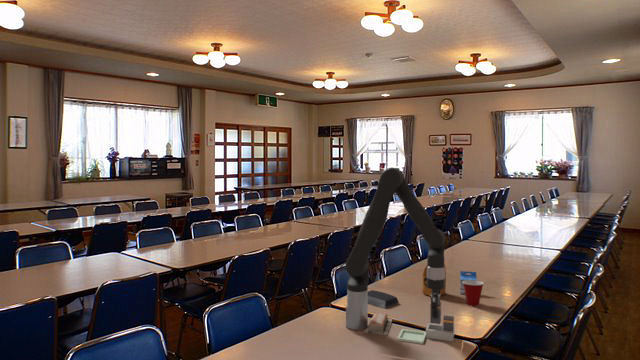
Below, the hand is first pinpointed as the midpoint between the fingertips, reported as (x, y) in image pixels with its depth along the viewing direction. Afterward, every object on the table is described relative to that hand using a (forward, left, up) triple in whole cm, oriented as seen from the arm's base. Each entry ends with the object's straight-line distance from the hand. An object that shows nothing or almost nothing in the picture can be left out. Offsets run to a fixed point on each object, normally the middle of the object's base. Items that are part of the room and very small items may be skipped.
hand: (435, 316), depth 189 cm
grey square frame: (+2, 0, -9) cm, 9 cm away
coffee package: (-8, +60, -9) cm, 62 cm away
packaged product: (-25, +2, -10) cm, 27 cm away
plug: (0, 0, -2) cm, 2 cm away
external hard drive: (-34, +37, -10) cm, 51 cm away
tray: (-9, -6, -9) cm, 14 cm away
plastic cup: (+13, +49, -9) cm, 52 cm away
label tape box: (+10, +67, -9) cm, 69 cm away
